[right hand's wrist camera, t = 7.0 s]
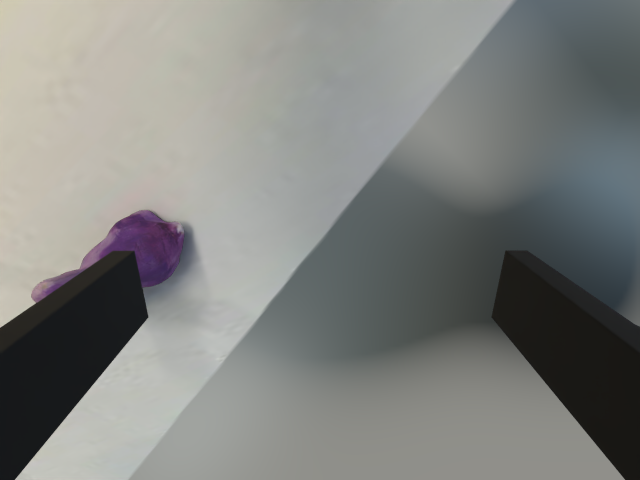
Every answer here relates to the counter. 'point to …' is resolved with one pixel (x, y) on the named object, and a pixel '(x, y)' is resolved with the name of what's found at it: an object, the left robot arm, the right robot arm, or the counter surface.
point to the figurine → (132, 235)
